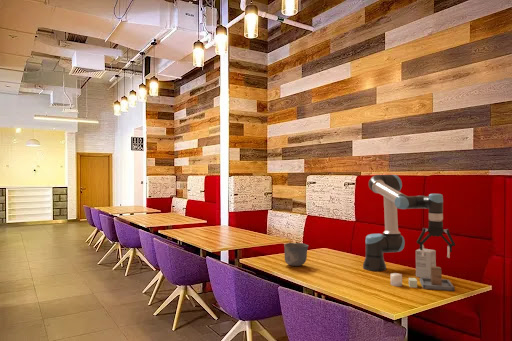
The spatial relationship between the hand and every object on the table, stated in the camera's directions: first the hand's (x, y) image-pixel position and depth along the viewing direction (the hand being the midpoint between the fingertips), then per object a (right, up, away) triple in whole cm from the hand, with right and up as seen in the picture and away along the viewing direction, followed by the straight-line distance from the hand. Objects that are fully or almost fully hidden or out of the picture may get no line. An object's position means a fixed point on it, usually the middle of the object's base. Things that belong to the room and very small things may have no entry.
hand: (435, 256), depth 217 cm
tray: (0, -17, -1) cm, 17 cm away
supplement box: (+3, -17, +19) cm, 26 cm away
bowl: (-76, -18, +48) cm, 92 cm away
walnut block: (0, -16, -1) cm, 16 cm away
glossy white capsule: (-22, -17, +2) cm, 28 cm away
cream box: (-13, -17, -1) cm, 22 cm away
